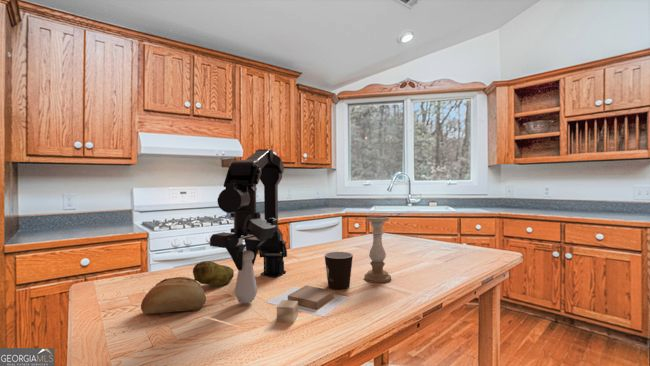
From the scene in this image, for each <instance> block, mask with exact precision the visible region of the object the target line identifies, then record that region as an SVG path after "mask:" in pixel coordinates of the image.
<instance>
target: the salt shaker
mask: <svg viewBox="0 0 650 366" xmlns="http://www.w3.org/2000/svg"><path fill="white" fill-rule="evenodd" d="M253 259H254V253H253V252H252V251H249V250H245V249H243V263H242V270H238V269H237V276H236V282H235V287H234V295H235V297H236V299H237V302H238V303H240V304H247V303H252V302H253V301H254V300H255V298H256V296H257V293H258V286H257V285H258V284H257V281H256V276H255V270H254V265H253V264H252V260H253Z"/></svg>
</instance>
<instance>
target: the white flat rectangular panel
mask: <svg viewBox="0 0 650 366" xmlns="http://www.w3.org/2000/svg"><path fill="white" fill-rule="evenodd" d="M301 288H302V287H300V286H293V287H292V288H290V289H289V290H286V291H285V292H283V293H281V294H279V295H277V296H275V297H273V298H271V299H269V300H267V301H265V302H264V303H266V304H269V305H273V306H276V307H277V306H278V304H279V303H280V302H281V301H282V300H288V295H290V294H291V293H293V292H295V291H297V290H299V289H301ZM349 298H350V297H349V296H345V295H340V294H335V293H334V298H333V299H331V300H330V301H329V302H327V303H326V304H324V305H323V306H322V307H320V308H319V309H317V310H316V309H311V308H307V307H303V306H298V312H299V311H300V312H302V313H307V314H311V315H314V316H315V315H316V316H319V317H326V316H327V315H328V314H330V313H331V312H332V311H334V310H335V309H336V308H337V307H338V306H340V305H341V304H342V303H344V302H345V301H346V300H348V299H349Z"/></svg>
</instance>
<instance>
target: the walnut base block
mask: <svg viewBox="0 0 650 366" xmlns="http://www.w3.org/2000/svg"><path fill="white" fill-rule="evenodd" d="M300 288H301V289H299V290H297V291H295V292H293V293H291V294H290V295H288V300H289V301H298V306H303V307H307V308H311V309H316V310H317V309H319V308H320V307H322V306H323V305H324V304H326V303H327V302H329V301H330V300H331V299H333V298H334V294H335V290H333V289H328V288H327V289H326V288H321V287H318V286H312V285H304V286H302V287H300Z"/></svg>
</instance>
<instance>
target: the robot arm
mask: <svg viewBox="0 0 650 366" xmlns="http://www.w3.org/2000/svg"><path fill="white" fill-rule="evenodd" d="M284 166H285V165H284V162H283V160H282V158H281V157H279V155H277V154H275V153H274V152H273V149H270V148H261V149H260V148H259V149H256V150H255V152H253V153H252V154H251V155H250V156H247V158H246V159H239V160H234V161H232V162H231V163H230V165H229V166H228V170H227V173H226V176H225V179H224V182H223V188H224V189H223V190H221V192H220V193H219V194H218V198H217V201H216V202H217V205H218V207H219V209H220V210H221V211H222V212H224V213H228V214H230V218H233V227H231V228H230V232H217V233H214V234H213V233H212V235H211V236H210V239H209V246H210V247H215V248H222V249H225V250H226V251H227V252H228V254H229V255H230V257H231V259H232V261H233V263H234V264H235V267H236V269H237V271H238V270H242V263H243V251H244V250H245V249H246V250H249V251H252V252H253V253H254V259H253V260H252V264H253V266H254V265H255V263H256V262H255V261H256V259H257V255H258V254H259V258H263V272H261V273H260V275H261V276H267V277H273V278H277V277H279V276H281V275H283V274H286V273H287V271H286V270H285V260H284V258H286V257H288V250H287V245H286V243H285V240H284V234H283V233H282V231H281V229H280V227H279V200H278V199H279V196H278V195H279V193H278V192H279V191H278V190H279V189H278V186H279V184H280V182H281V181H282V179H283V174H284V170H285V167H284ZM260 181H261V183H262V185H263V191H264V193H263V194H264V195H263V199H264V200H263V201H264V202H263V203H264V204H263V205H264V207H263V208H264V210H263V211H264V219H262V218H261V213H260V212H259V211H257V186H258V184H259V182H260ZM243 240H244V241H243ZM243 243H244V244H243Z"/></svg>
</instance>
